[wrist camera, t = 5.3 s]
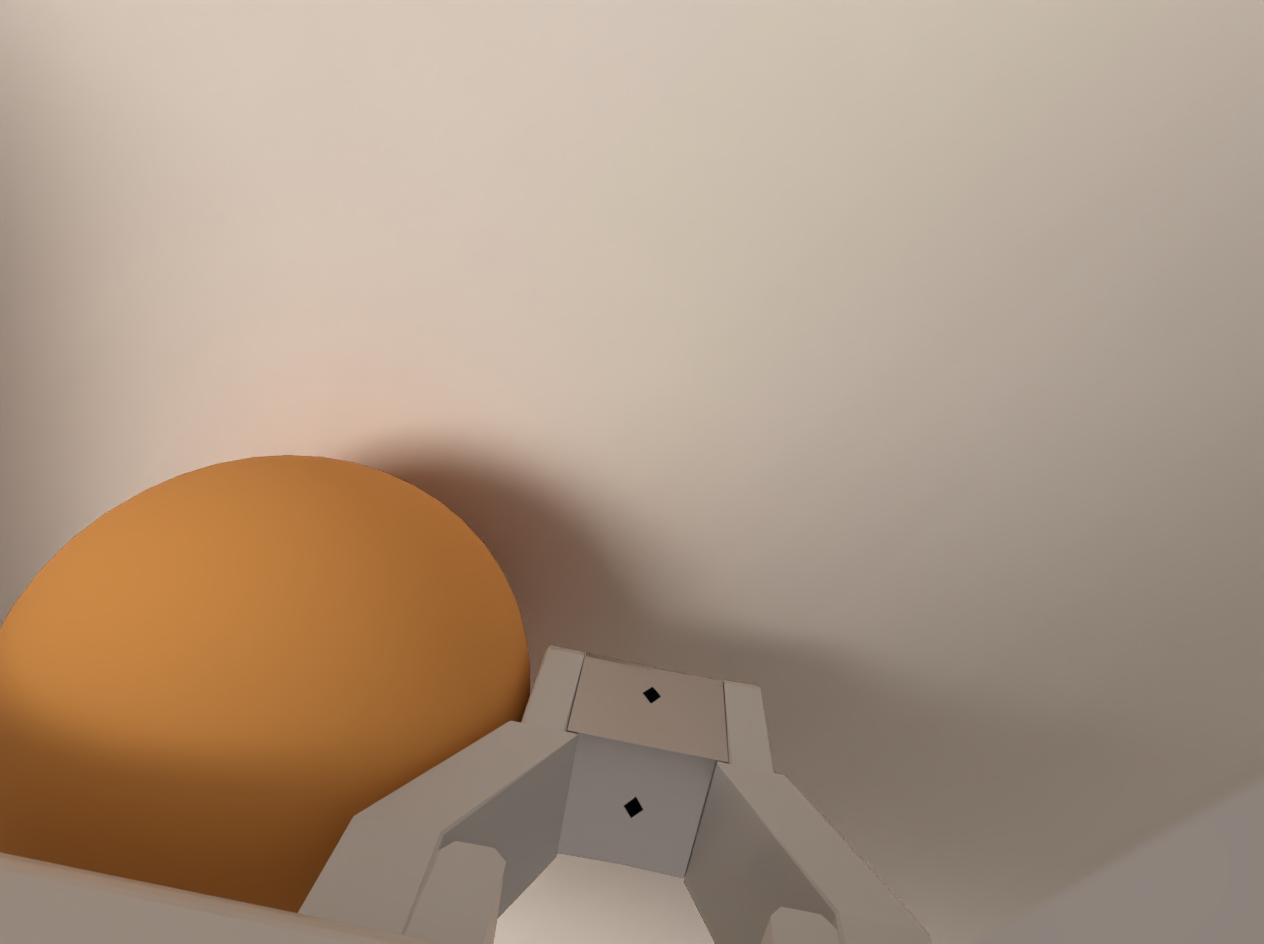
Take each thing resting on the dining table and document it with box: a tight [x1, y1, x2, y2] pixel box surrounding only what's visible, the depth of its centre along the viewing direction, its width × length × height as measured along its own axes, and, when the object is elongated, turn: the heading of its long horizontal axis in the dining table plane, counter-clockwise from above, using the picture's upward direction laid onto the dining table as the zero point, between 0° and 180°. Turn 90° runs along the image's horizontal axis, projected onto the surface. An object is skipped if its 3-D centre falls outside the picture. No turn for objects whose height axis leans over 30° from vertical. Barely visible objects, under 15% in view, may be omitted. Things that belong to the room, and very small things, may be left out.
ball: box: [0, 455, 530, 913], centre depth 9 cm, size 6×6×6 cm
